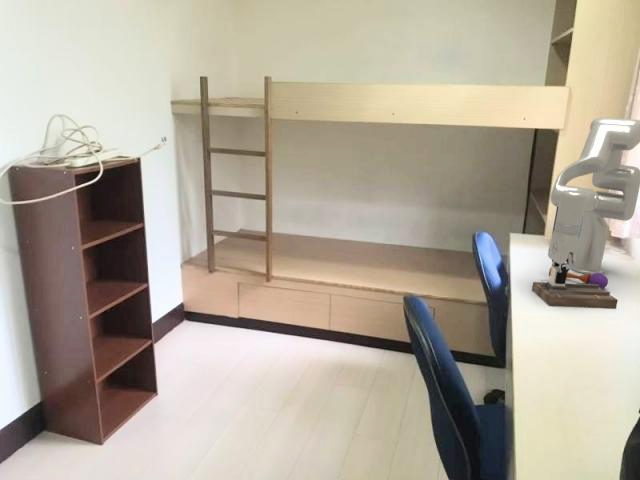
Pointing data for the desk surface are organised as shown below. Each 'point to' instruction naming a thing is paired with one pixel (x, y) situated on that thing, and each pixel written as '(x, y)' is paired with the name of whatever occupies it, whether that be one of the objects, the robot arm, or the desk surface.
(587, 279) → the kendama
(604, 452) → the desk surface
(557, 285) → the fader tab
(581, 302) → the brown slider board
